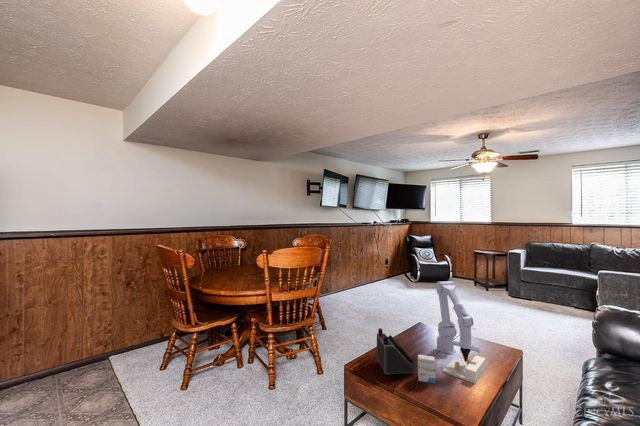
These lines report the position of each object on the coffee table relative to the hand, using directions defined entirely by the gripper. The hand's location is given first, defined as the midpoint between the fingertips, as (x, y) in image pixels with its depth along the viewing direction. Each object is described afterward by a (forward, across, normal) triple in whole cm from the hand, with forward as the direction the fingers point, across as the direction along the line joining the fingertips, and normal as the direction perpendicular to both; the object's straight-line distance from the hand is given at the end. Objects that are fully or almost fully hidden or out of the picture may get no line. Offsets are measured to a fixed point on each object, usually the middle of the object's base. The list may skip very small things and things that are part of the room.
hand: (465, 361), depth 159 cm
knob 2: (+2, +2, 0) cm, 3 cm away
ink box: (+3, -11, -28) cm, 30 cm away
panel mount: (+3, +1, -5) cm, 6 cm away
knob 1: (+2, -1, -9) cm, 9 cm away
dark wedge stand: (+4, -29, -29) cm, 41 cm away
